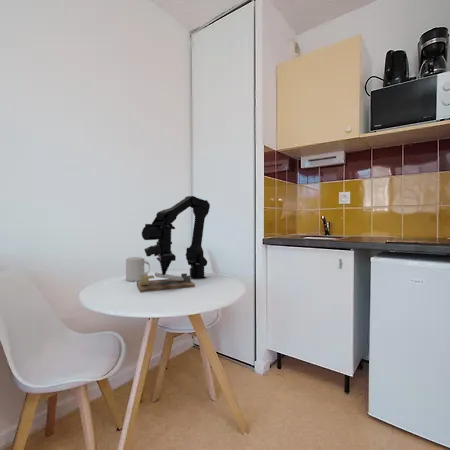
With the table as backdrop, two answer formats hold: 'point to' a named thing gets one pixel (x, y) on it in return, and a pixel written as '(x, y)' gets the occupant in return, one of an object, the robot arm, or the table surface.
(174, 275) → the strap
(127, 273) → the mug
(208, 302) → the table surface
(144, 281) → the gold t-shaped block
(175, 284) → the base
